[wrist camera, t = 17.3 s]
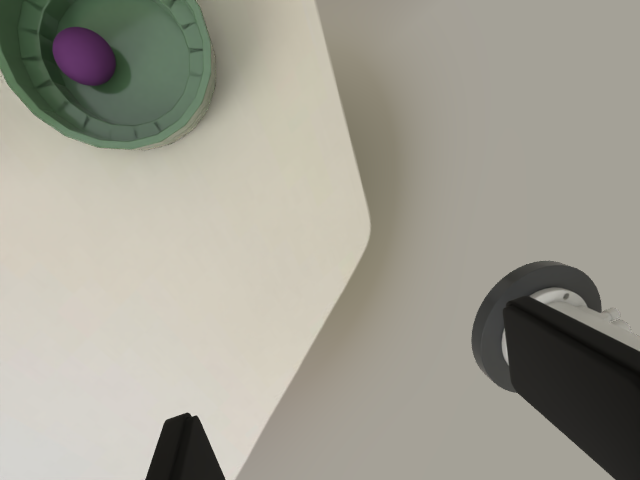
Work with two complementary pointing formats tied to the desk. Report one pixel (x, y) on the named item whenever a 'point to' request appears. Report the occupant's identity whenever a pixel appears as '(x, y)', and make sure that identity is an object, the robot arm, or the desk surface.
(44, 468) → the desk surface
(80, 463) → the desk surface
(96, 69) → the ball
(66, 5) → the bowl
